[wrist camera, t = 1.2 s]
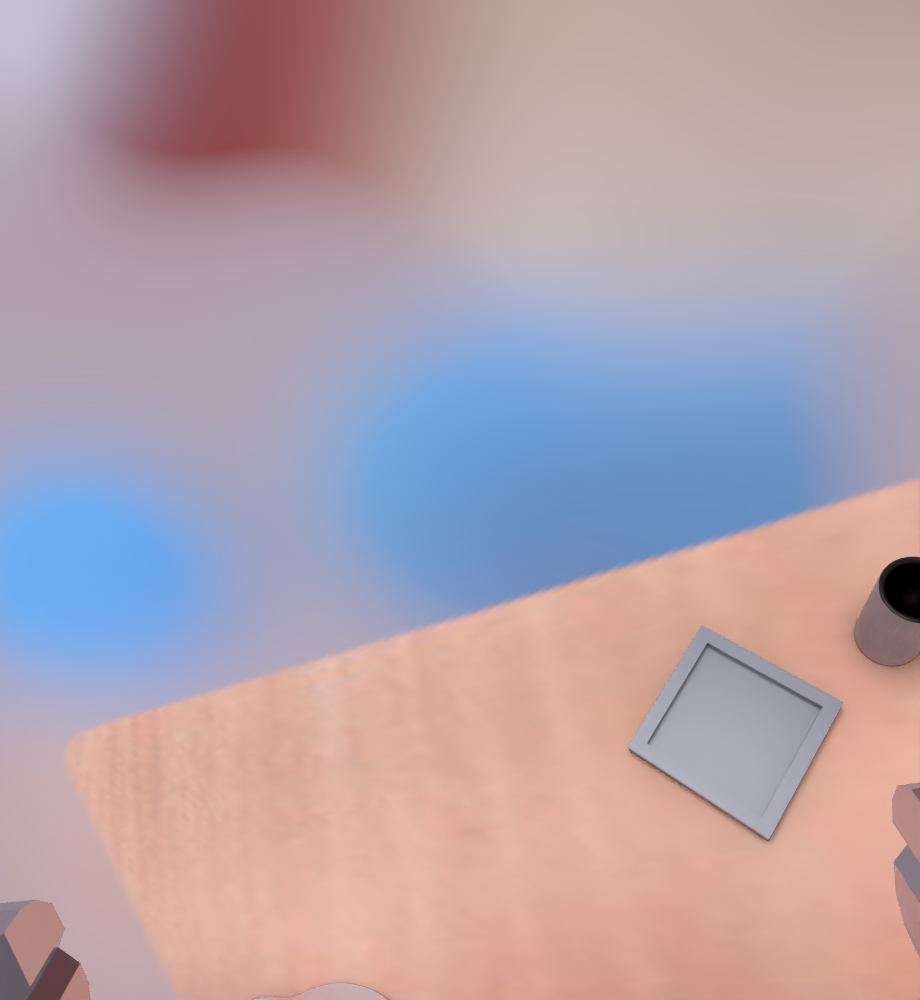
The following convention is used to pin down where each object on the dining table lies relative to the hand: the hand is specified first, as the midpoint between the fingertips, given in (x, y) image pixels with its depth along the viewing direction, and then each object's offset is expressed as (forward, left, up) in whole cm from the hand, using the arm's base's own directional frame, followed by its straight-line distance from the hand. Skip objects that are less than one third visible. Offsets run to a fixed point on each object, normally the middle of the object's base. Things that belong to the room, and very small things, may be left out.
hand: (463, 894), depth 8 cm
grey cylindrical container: (+25, -3, -56) cm, 61 cm away
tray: (+13, +3, -56) cm, 57 cm away
